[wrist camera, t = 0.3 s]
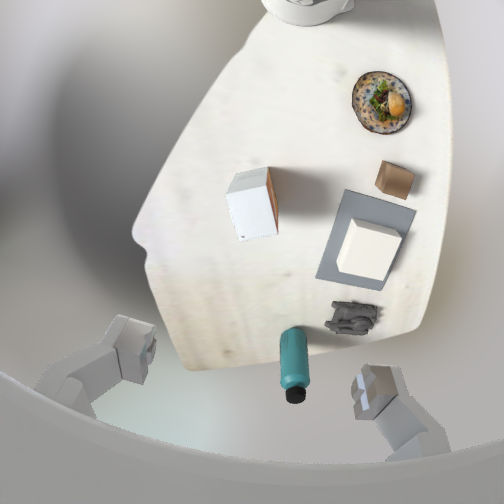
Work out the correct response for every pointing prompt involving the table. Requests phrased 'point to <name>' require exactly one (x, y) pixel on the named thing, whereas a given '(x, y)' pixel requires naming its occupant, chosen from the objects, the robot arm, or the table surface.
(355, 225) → the white plinth
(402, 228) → the plain slate board
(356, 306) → the tank toy
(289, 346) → the beverage bottle
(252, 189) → the small box
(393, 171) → the walnut block
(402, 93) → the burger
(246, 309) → the table surface
